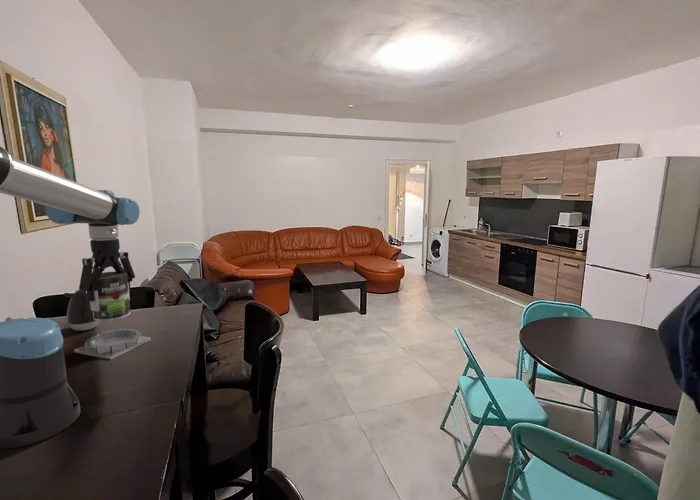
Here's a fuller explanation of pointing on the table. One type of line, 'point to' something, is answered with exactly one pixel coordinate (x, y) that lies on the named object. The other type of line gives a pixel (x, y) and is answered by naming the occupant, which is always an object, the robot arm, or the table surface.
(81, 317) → the pump dispenser
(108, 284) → the coffee can
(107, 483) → the table surface
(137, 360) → the table surface
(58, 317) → the table surface
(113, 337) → the duct collar
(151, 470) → the table surface
